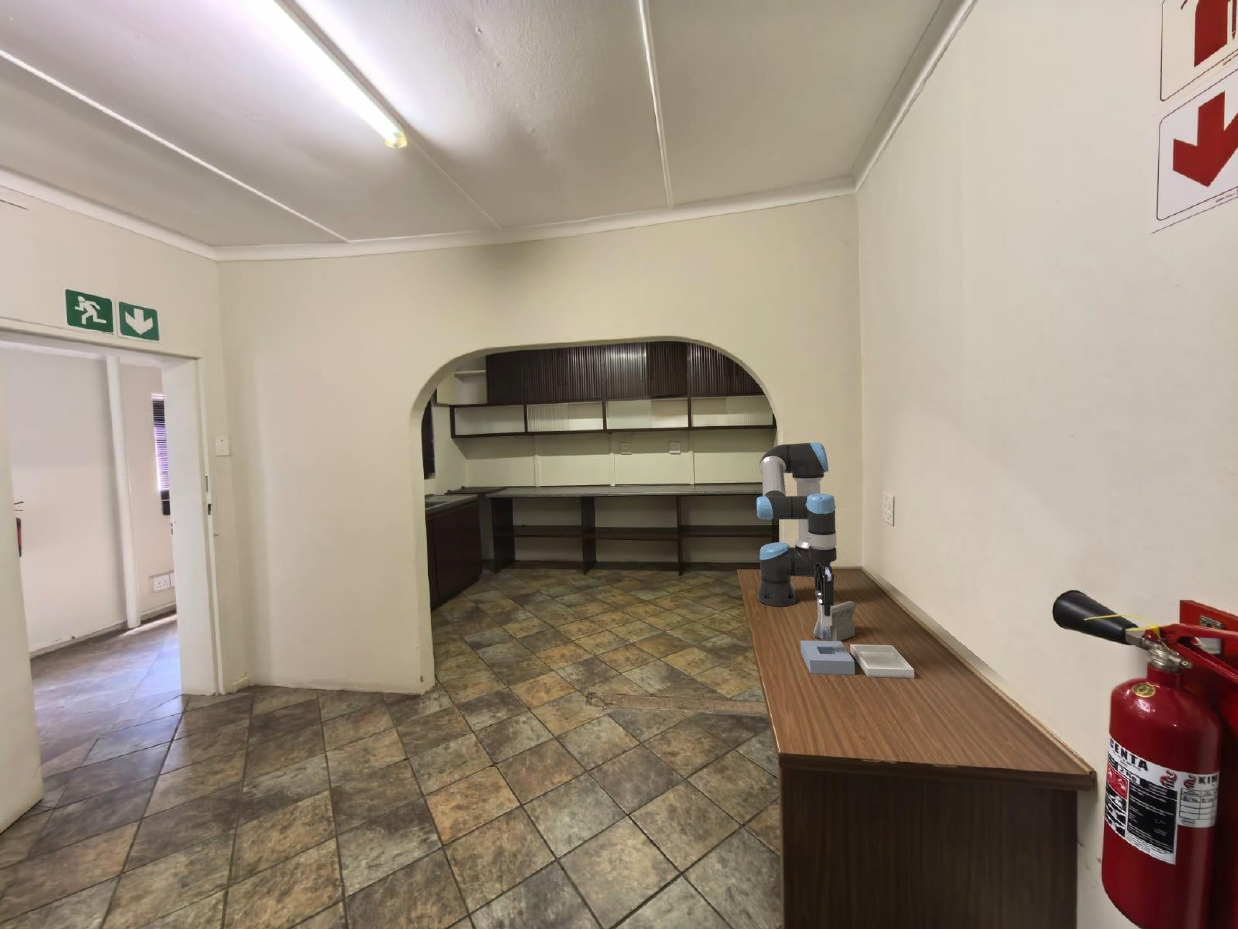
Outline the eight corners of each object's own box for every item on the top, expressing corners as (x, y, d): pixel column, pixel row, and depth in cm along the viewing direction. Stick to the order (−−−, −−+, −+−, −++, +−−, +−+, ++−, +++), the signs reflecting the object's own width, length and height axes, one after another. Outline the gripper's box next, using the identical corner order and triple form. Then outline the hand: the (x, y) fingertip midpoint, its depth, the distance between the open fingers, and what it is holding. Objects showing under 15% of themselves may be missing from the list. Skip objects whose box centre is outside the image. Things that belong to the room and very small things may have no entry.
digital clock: (846, 625, 156) (845, 596, 155) (866, 636, 147) (865, 605, 146) (806, 633, 152) (805, 603, 151) (824, 645, 143) (823, 613, 143)
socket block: (800, 652, 140) (800, 640, 139) (841, 653, 137) (840, 641, 137) (810, 673, 128) (809, 660, 127) (854, 674, 126) (854, 661, 125)
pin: (827, 633, 135) (826, 588, 134) (835, 640, 130) (834, 594, 129) (814, 634, 134) (812, 590, 133) (821, 641, 130) (819, 595, 129)
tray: (850, 652, 138) (850, 644, 138) (892, 653, 136) (892, 645, 135) (867, 677, 124) (867, 668, 124) (914, 678, 122) (914, 669, 122)
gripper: (802, 539, 139) (805, 610, 141) (816, 554, 123) (819, 635, 125) (827, 538, 137) (830, 611, 139) (844, 554, 121) (847, 635, 123)
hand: (824, 622), depth 132 cm, fingers closed on pin, 3 cm apart
